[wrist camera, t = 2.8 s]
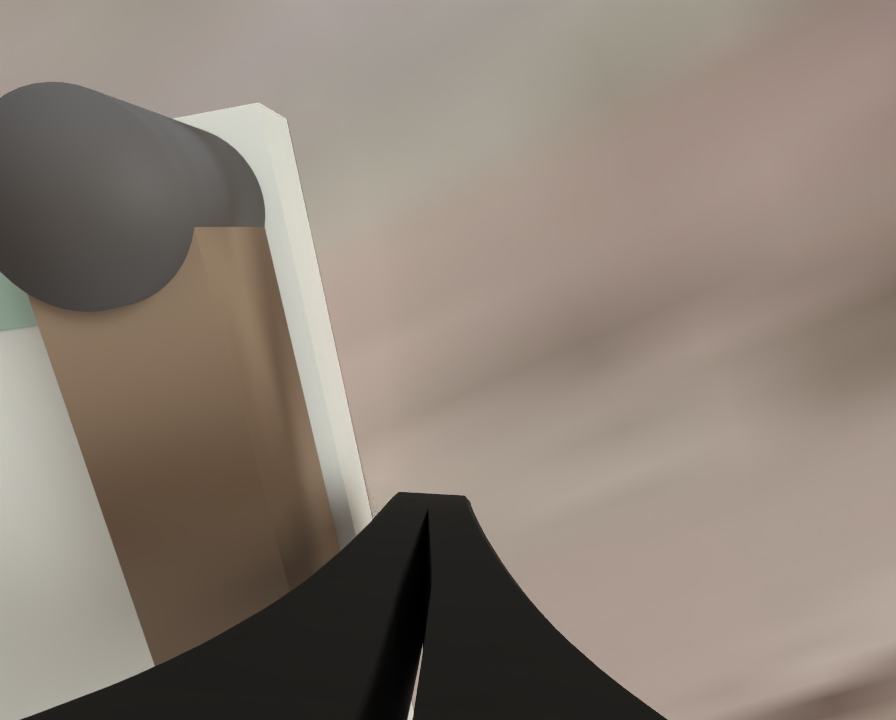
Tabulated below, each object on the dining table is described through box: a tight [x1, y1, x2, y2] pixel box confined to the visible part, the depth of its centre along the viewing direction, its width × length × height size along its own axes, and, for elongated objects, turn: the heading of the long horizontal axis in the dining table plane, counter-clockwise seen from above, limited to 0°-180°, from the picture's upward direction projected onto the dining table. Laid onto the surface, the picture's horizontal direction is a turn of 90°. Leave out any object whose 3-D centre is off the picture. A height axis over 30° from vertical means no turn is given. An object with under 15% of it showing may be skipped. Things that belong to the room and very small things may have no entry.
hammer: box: [0, 82, 340, 666], centre depth 9 cm, size 9×3×3 cm, turn 9°
